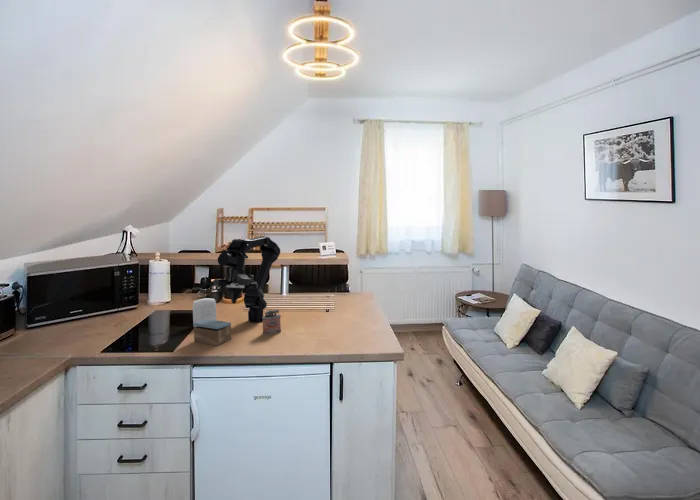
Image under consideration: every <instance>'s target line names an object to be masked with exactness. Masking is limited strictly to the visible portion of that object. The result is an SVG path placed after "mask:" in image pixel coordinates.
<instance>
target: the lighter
mask: <svg viewBox="0 0 700 500" xmlns="http://www.w3.org/2000/svg"><path fill="white" fill-rule="evenodd" d="M281 316H282V315H281V314H280V310H279V309H273V310H272V309H269V310H268V311H267V310H265V312H264V315H263V317H262V319H263V322H262V335H263V336H264V335H265V336H266V335H275V334H279V333H282V328H281V326H282V325H281Z"/></svg>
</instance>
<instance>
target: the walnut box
mask: <svg viewBox="0 0 700 500" xmlns="http://www.w3.org/2000/svg"><path fill="white" fill-rule="evenodd" d="M231 325H232V324H231ZM231 325H229V326H226V327H223V328H220V329H212V328H206V327H199V326H196V327H194V326H193V339H194V342H195V343H198V344H205V345H211V346H216V347H218V346H221V345H223V344H226V343H228V342H229V341H231V340H232V332H231V331H232V328H231Z"/></svg>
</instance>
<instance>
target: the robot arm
mask: <svg viewBox="0 0 700 500" xmlns="http://www.w3.org/2000/svg"><path fill="white" fill-rule="evenodd" d="M257 247H259V250H260V251H261V253H260V255H261V259H262V261H261V264H260V266H259V269H258V271H257V273H256V276H254V275H253V274H246V273H247V272H246V270H245V266H246V265H245V264H246V259H249V256H248V254H247V253H248V252H250V251H251V249H254V248H257ZM280 254H281V248H280V247H279V245H278V244H277V243H276V242H274V241H273V240H272V239H271V238H270V237H269V236H267V235H265V236H263V235H260V236H258V237H253V238H249V239H243V238H242V239H240V238H238V239H237V238H236V239H235V238H234V239H232V240H231V243H230V244H229V245H228V247H227V248H226V249H223V250H222V253H220V254H219V255H218V257H217V263H218V265H219V266H220V267H226V268H229V269H228V272H229V278H227V279H223V278H214V279H213V281H212V285H213V286H217V287H224V288H225V289H226V290H227V292H228V294H229V297H230V300H231V303H232V304H236V303H237V301H238V298H239V296H240V294H241V293H242V292H243V291H244V290H245V292H244V294H243V302H244V306H245V308H246V309H248V310H247V320H248V322H249V323H251V324H252V323H261V322H262V323H263V319H262V317H263V316H264V310H265V309H266V308H267V305H268V303H267V301H266V300H265V299H264V296H265V295H264V287H265V285H266V282H267V279H268V276H269V274H270V271H271V268H272V265H273V263H275V262H276V261H277V260H278V259H279V257H280ZM254 278H255V279H254Z"/></svg>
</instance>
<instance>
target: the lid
mask: <svg viewBox="0 0 700 500" xmlns="http://www.w3.org/2000/svg"><path fill="white" fill-rule="evenodd" d="M192 325H193V327H194V326H199V327H206V328H212V329H220V328H223V327H226V326H229V325H232V322H229V321H222V320H217V319H216V320H210V319H206V320H202V321H199V322H195V323H192Z"/></svg>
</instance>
